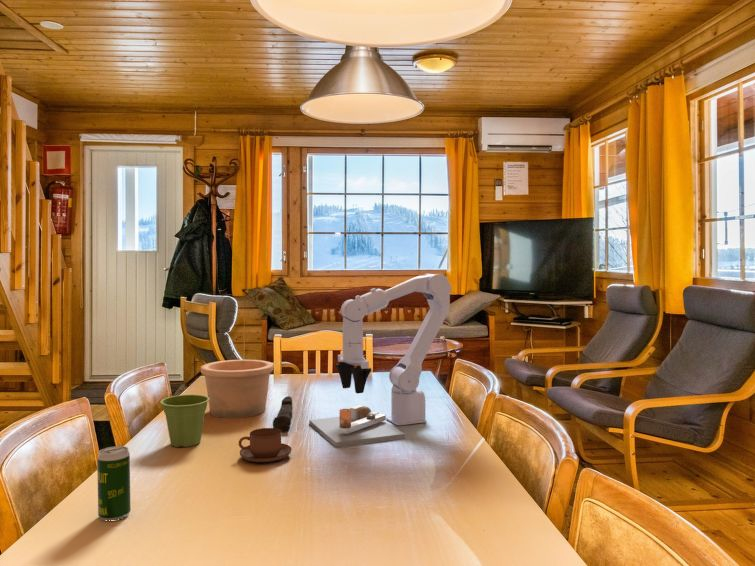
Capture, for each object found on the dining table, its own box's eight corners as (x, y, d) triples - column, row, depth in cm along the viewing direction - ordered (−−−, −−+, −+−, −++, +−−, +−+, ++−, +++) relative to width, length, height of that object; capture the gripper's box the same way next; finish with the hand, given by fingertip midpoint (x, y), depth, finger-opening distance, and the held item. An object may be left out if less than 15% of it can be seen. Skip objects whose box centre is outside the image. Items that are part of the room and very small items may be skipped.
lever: (373, 417, 169) (373, 397, 168) (386, 420, 166) (386, 399, 166) (332, 432, 154) (332, 409, 154) (346, 435, 151) (346, 412, 151)
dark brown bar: (290, 433, 159) (290, 413, 159) (272, 433, 159) (272, 413, 159) (299, 412, 182) (299, 394, 182) (284, 412, 182) (283, 394, 182)
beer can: (121, 507, 111) (120, 443, 110) (136, 515, 107) (135, 449, 107) (92, 516, 106) (91, 450, 106) (106, 525, 103) (105, 457, 103)
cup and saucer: (247, 470, 131) (247, 442, 131) (234, 454, 142) (233, 429, 142) (298, 461, 137) (298, 435, 136) (282, 447, 147) (282, 422, 147)
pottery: (222, 425, 167) (221, 374, 167) (189, 410, 184) (188, 364, 183) (287, 412, 182) (286, 365, 181) (251, 399, 198) (251, 357, 198)
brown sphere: (368, 417, 171) (368, 404, 171) (373, 420, 168) (373, 407, 168) (356, 418, 170) (356, 405, 169) (361, 421, 166) (361, 408, 166)
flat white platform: (370, 417, 175) (370, 402, 175) (404, 438, 154) (404, 421, 154) (309, 424, 168) (309, 408, 168) (335, 447, 147) (335, 429, 147)
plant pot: (150, 447, 146) (149, 402, 146) (181, 434, 157) (181, 393, 157) (190, 453, 142) (189, 406, 142) (219, 439, 153) (219, 396, 153)
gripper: (328, 340, 170) (328, 387, 170) (352, 346, 158) (352, 397, 158) (350, 338, 174) (350, 384, 174) (375, 344, 161) (375, 393, 162)
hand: (352, 390), depth 166 cm, fingers open, 7 cm apart
